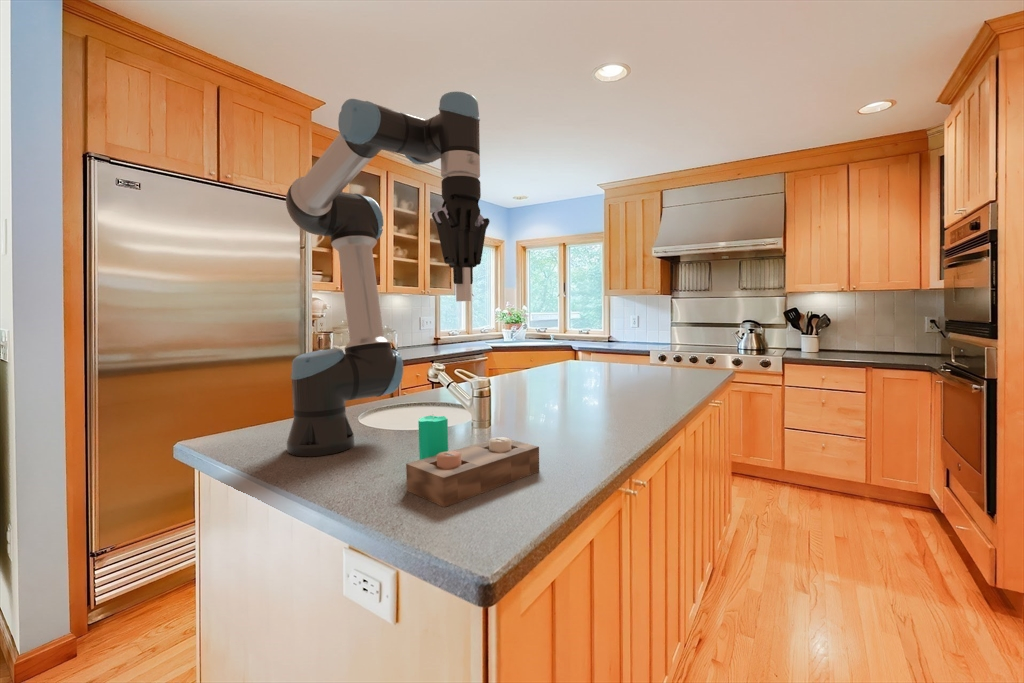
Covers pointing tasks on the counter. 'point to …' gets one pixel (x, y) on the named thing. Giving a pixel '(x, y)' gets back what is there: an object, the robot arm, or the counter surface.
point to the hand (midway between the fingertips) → (463, 301)
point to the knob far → (500, 444)
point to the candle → (432, 436)
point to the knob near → (448, 459)
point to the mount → (471, 472)
